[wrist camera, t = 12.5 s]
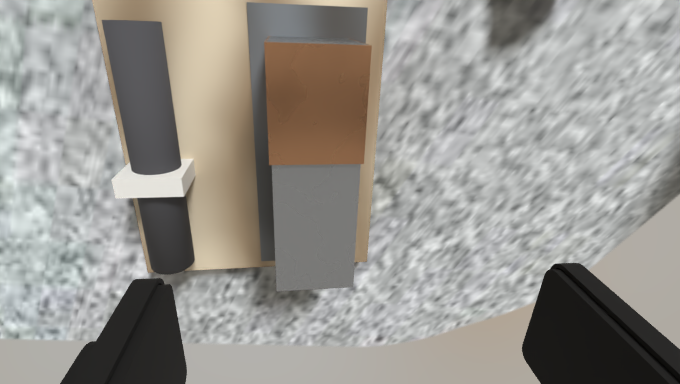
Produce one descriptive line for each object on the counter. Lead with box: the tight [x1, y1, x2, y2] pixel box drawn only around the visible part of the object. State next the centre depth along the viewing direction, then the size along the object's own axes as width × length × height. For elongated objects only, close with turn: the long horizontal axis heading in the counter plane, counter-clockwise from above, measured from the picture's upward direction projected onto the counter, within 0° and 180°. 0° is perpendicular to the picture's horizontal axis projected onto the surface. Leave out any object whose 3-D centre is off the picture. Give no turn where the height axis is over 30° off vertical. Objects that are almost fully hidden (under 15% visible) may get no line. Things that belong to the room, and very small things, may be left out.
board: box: [92, 0, 387, 273], centre depth 22 cm, size 14×16×1 cm
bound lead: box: [102, 20, 196, 274], centre depth 20 cm, size 3×13×3 cm, turn 178°
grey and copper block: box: [264, 36, 372, 292], centre depth 20 cm, size 4×12×5 cm, turn 178°
